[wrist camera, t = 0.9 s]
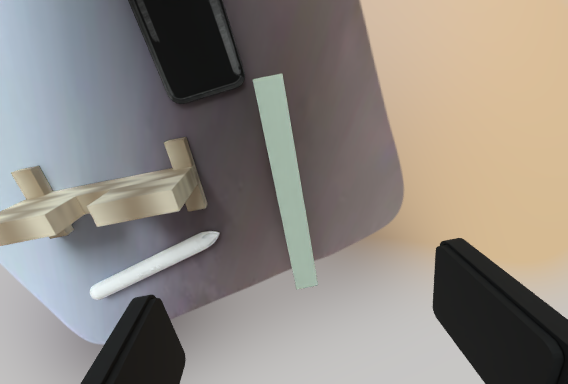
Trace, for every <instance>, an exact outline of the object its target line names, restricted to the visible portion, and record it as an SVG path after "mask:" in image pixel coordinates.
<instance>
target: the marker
mask: <svg viewBox="0 0 568 384" xmlns="http://www.w3.org/2000/svg"><path fill="white" fill-rule="evenodd" d="M218 236H219V232H216V231H205V232H201V233H199V234H197V235H195V236H192V237H190V238H188V239H186V240H184V241H182V242H180V243H178V244H176V245H174V246H172V247H170V248H168V249H166V250H164V251H162V252H160V253H158V254H156V255H154V256H152V257H150V258H148V259H145V260H143V261H141V262H139V263H137V264H135V265H133V266H131V267H129V268H127V269H125V270H123V271H121V272H119V273H117V274H115V275H113V276H111V277H109V278H107V279H105V280H103V281H100V282H98V283H96V284H95V285H93V286H92V288H91V289H90V295H91V297H92V298H93V299H95V300H100V299H103V298H105V297H107V296H109V295H111V294H113V293H115V292H117V291H120V290H122V289H124V288H126V287H128V286H130V285H132V284H134V283H136V282H138V281H140V280H142V279H145V278H147V277H149V276H151V275H153V274H155V273H157V272H159V271H161V270H163V269H165V268H167V267H169V266H172V265H174V264H176V263H178V262H180V261H182V260H184V259H186V258H188V257H190V256H192V255H194V254H197V253H199V252H201V251H203V250H205V249H207V248H208V247H210V246H211V245H212V244H213V243H214V242H215V241H216V240H217V238H218Z"/></svg>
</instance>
